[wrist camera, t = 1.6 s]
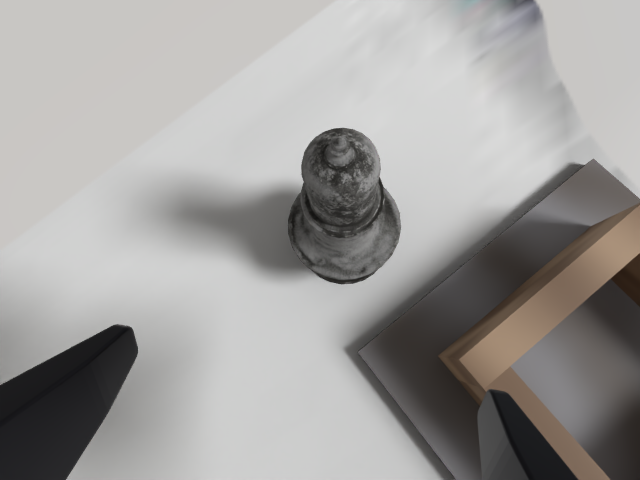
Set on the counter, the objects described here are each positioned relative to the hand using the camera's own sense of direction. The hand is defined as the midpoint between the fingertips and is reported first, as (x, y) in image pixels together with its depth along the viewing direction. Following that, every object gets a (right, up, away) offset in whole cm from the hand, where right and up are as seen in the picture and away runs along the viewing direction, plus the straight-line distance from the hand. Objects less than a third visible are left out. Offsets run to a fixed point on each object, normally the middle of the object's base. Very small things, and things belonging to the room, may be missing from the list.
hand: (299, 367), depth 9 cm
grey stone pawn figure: (+2, +3, +14) cm, 14 cm away
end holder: (+15, -4, +10) cm, 19 cm away
